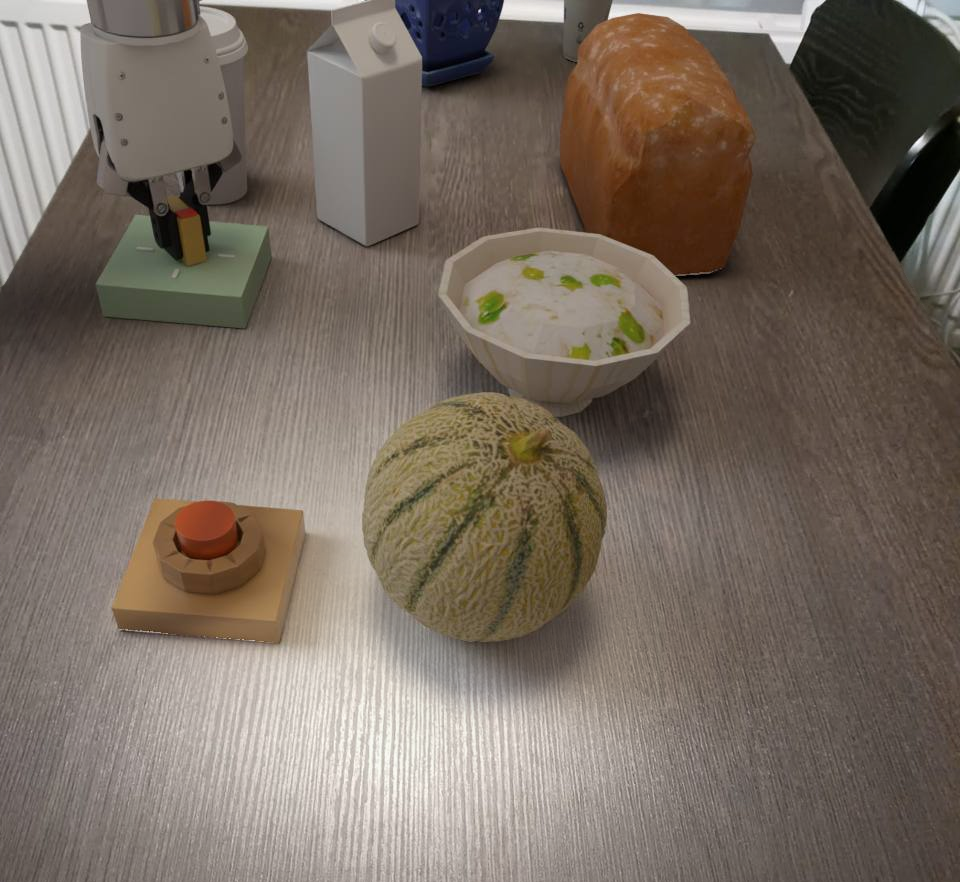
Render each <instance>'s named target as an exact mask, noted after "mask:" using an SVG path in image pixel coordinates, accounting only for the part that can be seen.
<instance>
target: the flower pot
mask: <svg viewBox="0 0 960 882" xmlns="http://www.w3.org/2000/svg"><path fill="white" fill-rule="evenodd" d="M364 1H366V0H364ZM504 4H505V0H395V8H396V10H397V12H398V14H399V16H400V17H401V19H402V21H403V23H404V25H405V27H406V29H407V30H408V32H409V34H410V36H411V38H412V40H413V41H414V43H415V45H416V47H417V49H418V51H419V52H420V54H421V56H422V87H425V86H426V87H427V88H429V86H431V87H433V86H438V85H440V84H444V83H449V82H453V81H455V80H460V79H463V78H466V77H470V76H474V75H473V74H476V75H478V74H479V73H480V74H481V72H483V71H485V70H486V69H487V68H488V67H489V66H490V65H491V64H492V63H493V61H494V59H495V54H494V53H492V52H490V51H488V50H486V49H487V47H488V46H489V44H490V42H491V40H492V38H493V37H494V34H495V32H496V29H497V26H498V24H499V21H500V18H501V15H502V10H503V8H504ZM477 73H478V74H477Z"/></svg>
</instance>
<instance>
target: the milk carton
mask: <svg viewBox="0 0 960 882" xmlns="http://www.w3.org/2000/svg"><path fill="white" fill-rule="evenodd" d="M330 19H331V21H330V22H331V25H330V26H329V27H327V29H326V30H325V31H324V32H323V33H322V34H321V35H320V37H318V39H316V41H315V42H314V43H313V44H312V45H311V46H310V47H309V48H308V50H307V51H306V55H307V71H308V88H309V89H308V90H309V103H310V104H309V105H310V120H311V122H310V123H311V135H312V136H311V138H312V152H313V153H312V156H313V170H314V171H313V172H314V187H315V189H314V190H315V202H316V203H315V204H316V218H317V219H318V220H319V221H321V222H323V223H324V224H326V225H327V226H330V227H332V228H333V229H335V230H336V231H338V232H340V233H341V234H343V235H345V236H347V237H349V238H351V239H352V240H354V241H355V242H358V243H359V244H361V245H363V246H364V247H370V246H372V245H375V244H377V243H379V242H381V241H383V240H386V239H388V238H390V237H393V236H396V235H397V234H400V233H402V232H403V231H407V230H408V229H411V228H413V227H415V226H418V225H419V221H420V189H421V187H420V185H421V184H420V181H421V180H420V179H421V143H422V141H421V139H422V137H421V135H422V134H421V133H422V92H423V90H422V88H423V85H422V56H421V54H420V52H419V51H418V49H417V47H416V45H415V43H414V41H413V40H412V38H411V36H410V34H409V32H408V30H407V29H406V27H405V25H404V23H403V21H402V19H401V17H400V16H399V14H398V12H397V10H396V8H395V0H366V1H365V0H362V1H359V2H356V3H352V4H347V5H344V6H340V7H336V8H332V9H331V10H330Z"/></svg>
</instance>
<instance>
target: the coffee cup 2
mask: <svg viewBox="0 0 960 882" xmlns="http://www.w3.org/2000/svg"><path fill="white" fill-rule="evenodd" d="M613 1H614V0H563V35H562V37H563V39H562V42H563V43H562V56H563V55H564V57H565V58H567V59H570V60H573V61H578V47H579V46H580V45H581V43H582V42H583V41H584V40H585V39H586V37H587V36H588V35H589V34H590V32H591V31H592V30H593V29H594V28H595V26H596V25H598V24H600V23H602V22H605V21H607V20H609V17H610V13H611V9H612V4H613ZM564 57H563V58H564ZM565 58H564V59H565Z"/></svg>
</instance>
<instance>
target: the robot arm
mask: <svg viewBox="0 0 960 882" xmlns="http://www.w3.org/2000/svg"><path fill="white" fill-rule="evenodd" d="M200 1H203V0H86V4H87V5H86V6H87V9H88V14H89V19H90V22H88V23H84V24H82V25H81V26H80V33H79V34H80V58H81V71H82V79H83V80H82V81H83V89H84V97H85V104H86V111H87V117H88V123H89V128H90V134H91V139H92V143H93V146H94V150H95V153H96V155H97V157H98V165H97V174H96V185H97V187H99V188H100V190H102V192H104V193H105V194H107V195H112V196H116V197H117V196H118V197H124V198H126V197H127V198H132V199H134V200H135V201H137V202H138V203H139V204H141V205H143V206H145V207H146V208H147V209H148V213H149V216H150V219H151V224H152V229H153V234H154V238H155V241H156V243H157V245H158V246H159V247H160V248H161V249H164V250H165V251H166V252H167V253H168V254H169V255H171V256H172V257H173V258H174V259H175V260H176V261H177V260H180V259H182V257H183V252H182V246H181V241H180V235H179V229H178V224H177V216H176V214H175V213H174V212H173V211H172V210H171V209H170V206H169V203H168V201H167V191H166V186H165V182H164V176H167V175H172V174H177V172H181V175H182V182H183V187H184V189H183V192H181V191H180V192H179V196H178V197H179V199H181V200H182V201H183V202H184V203H185V204H186V205H187V206H188V207H189V208H190V207H191V208H192V209H194V210H195V211H196V212H197V214H198V215H200V220H201V227H202V233H203V239H204V246H205V252H209V250H210V249H209V243H208V236H210V235H211V230H210V223H209V221H210V217H209V209H208V205H207V204H209V203H210V201H211V199H212V196H211V192H212V191H213V189H214V187H215V186H216V184H217V183H218V181H219V179H220V178H221V176H222V173H223V172H227V171H228V170H229V169H231V168H232V167H233V166H235V165H236V164H238V163H239V162H240V161H241V159H242V155H241V153H240V151H239V149H238V147H237V145H236V143H235V141H234V139H233V131H232V123H231V117H230V111H229V105H228V100H227V95H226V90H225V85H224V81H223V76H222V72H221V68H220V64H219V61H218V57H217V54H216V50H215V47H214V44H213V41H212V37H211V34H210V31H209V28H208V26H207V23H206V21H205V20H204V19H203V18H202V17H201V16H200V7H199V6H200Z"/></svg>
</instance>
